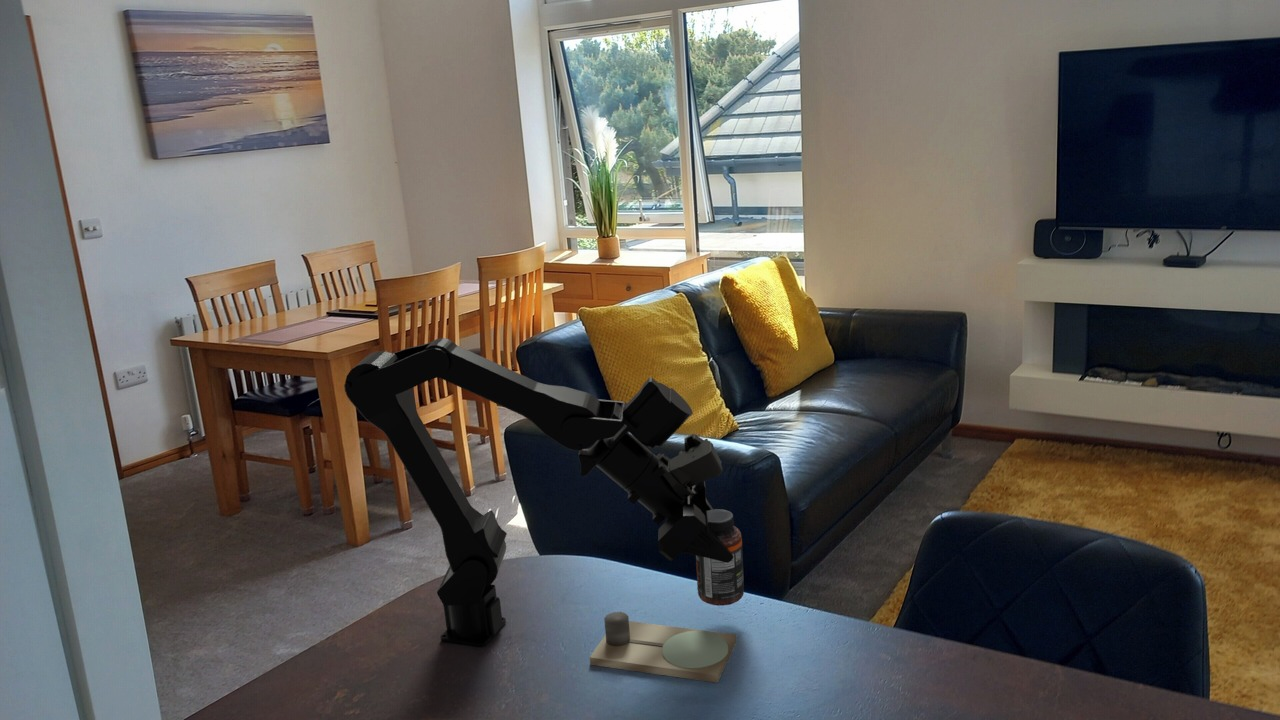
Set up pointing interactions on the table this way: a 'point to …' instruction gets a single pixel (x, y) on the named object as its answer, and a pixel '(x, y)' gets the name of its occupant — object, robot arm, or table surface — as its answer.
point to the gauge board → (649, 649)
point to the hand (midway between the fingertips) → (729, 548)
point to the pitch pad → (695, 649)
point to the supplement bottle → (722, 564)
